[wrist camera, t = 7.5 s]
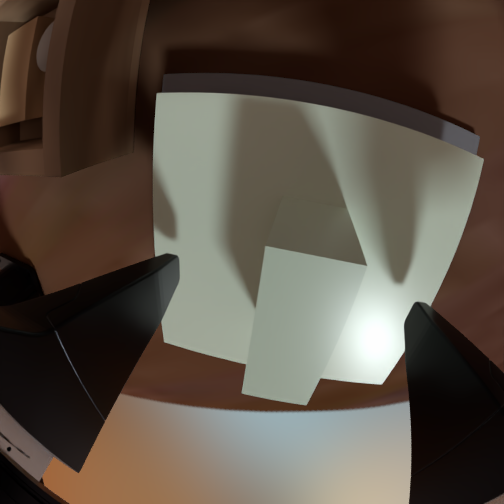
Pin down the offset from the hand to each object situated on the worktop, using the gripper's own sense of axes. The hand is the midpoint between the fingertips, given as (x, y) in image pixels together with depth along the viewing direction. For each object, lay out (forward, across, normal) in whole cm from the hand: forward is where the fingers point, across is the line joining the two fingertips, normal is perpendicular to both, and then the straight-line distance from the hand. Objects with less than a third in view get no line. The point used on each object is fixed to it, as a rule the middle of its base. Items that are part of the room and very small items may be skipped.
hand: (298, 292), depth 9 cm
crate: (+4, +13, -8) cm, 16 cm away
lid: (+3, 0, 0) cm, 3 cm away
